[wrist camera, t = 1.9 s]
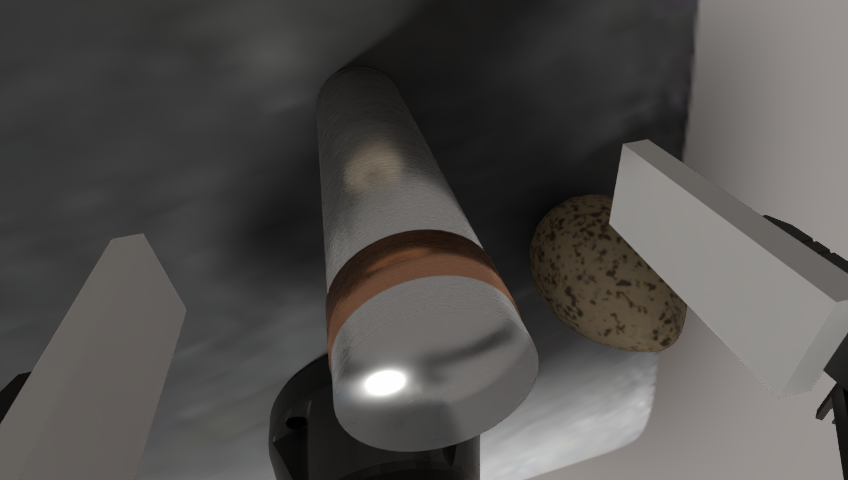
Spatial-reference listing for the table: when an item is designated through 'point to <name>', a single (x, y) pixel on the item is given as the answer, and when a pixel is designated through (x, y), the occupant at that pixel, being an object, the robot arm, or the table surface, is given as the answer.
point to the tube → (408, 283)
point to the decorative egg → (601, 279)
